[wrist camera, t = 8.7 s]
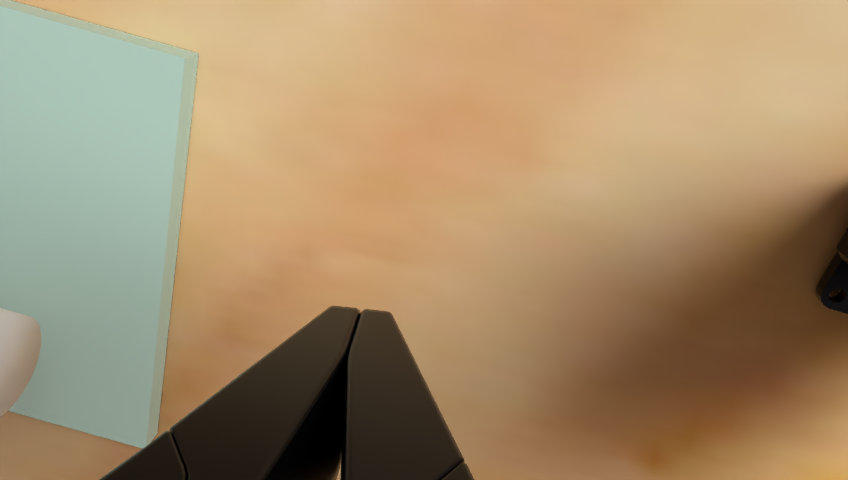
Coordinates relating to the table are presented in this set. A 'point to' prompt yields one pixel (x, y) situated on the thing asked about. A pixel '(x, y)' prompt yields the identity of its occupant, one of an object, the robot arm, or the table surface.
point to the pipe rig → (88, 219)
